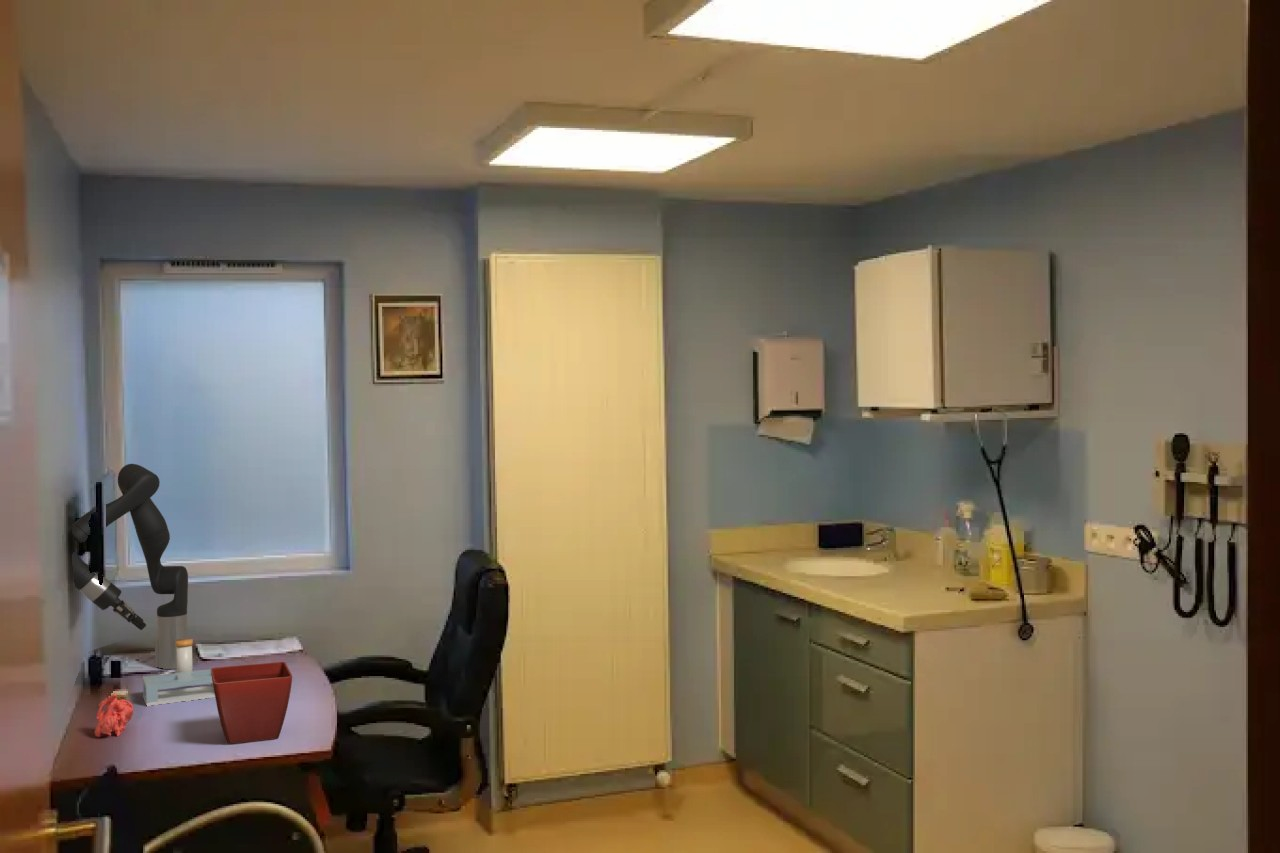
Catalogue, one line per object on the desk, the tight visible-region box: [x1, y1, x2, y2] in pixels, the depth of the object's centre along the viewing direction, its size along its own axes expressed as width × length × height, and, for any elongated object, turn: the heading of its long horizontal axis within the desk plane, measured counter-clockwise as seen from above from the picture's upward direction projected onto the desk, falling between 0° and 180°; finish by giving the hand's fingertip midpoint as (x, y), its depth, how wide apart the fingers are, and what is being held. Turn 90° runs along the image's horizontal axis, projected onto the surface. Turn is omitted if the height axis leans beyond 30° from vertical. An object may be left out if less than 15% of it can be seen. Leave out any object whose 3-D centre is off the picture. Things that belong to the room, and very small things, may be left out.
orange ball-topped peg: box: [175, 638, 194, 688], centre depth 355 cm, size 5×5×14 cm
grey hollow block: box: [142, 668, 215, 707], centre depth 342 cm, size 22×12×6 cm, turn 118°
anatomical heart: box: [94, 693, 134, 738], centre depth 305 cm, size 9×12×12 cm
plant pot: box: [210, 661, 293, 744], centre depth 302 cm, size 19×19×17 cm
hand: (142, 625), depth 350 cm, fingers open, 8 cm apart
